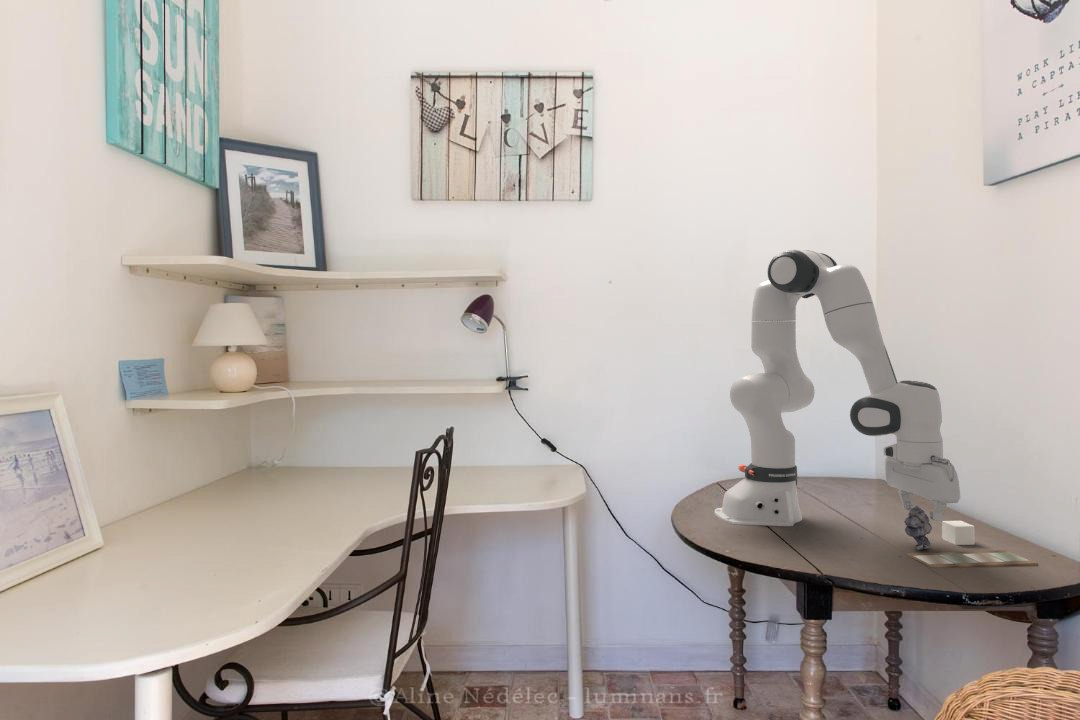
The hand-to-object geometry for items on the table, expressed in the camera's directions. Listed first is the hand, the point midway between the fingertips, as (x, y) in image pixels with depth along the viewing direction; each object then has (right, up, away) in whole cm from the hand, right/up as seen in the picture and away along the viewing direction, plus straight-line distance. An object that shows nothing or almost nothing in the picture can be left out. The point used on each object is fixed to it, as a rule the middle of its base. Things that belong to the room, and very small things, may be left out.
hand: (921, 514), depth 137 cm
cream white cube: (+12, -8, +5) cm, 15 cm away
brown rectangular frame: (+6, -8, -7) cm, 12 cm away
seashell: (0, -8, +1) cm, 8 cm away
